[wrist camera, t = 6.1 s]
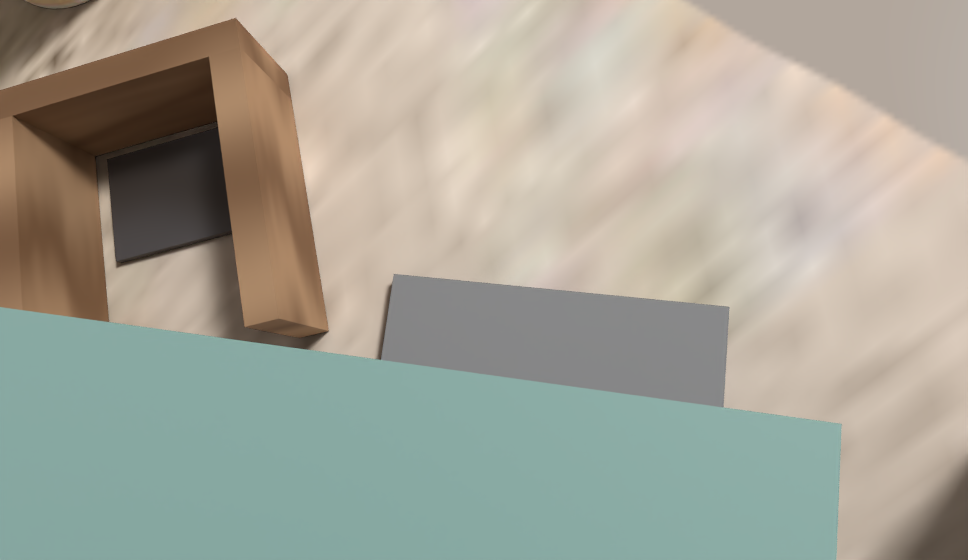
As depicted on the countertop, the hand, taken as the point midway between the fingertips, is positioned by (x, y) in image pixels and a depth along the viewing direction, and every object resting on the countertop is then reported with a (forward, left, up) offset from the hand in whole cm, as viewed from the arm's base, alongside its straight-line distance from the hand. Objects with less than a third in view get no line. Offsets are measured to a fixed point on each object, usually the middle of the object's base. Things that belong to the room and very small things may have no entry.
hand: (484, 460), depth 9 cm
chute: (-4, +15, -13) cm, 21 cm away
